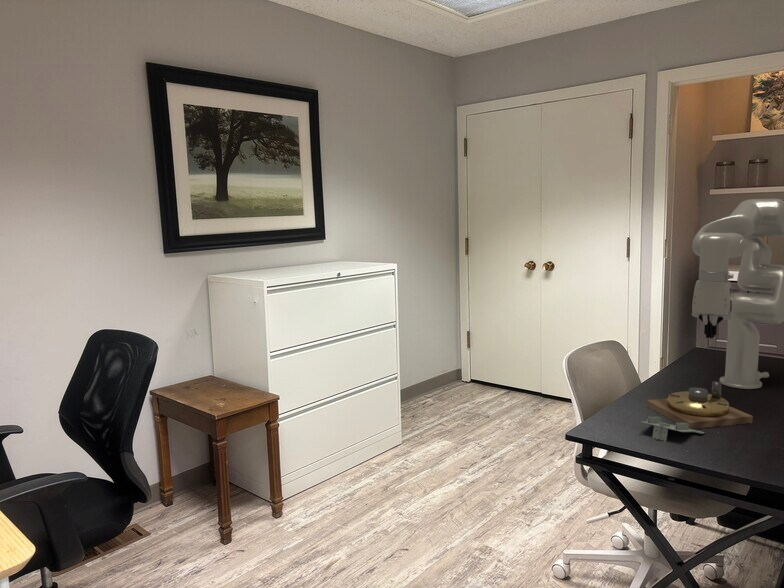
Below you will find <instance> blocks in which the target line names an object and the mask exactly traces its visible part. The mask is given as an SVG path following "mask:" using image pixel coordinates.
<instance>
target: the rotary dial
mask: <svg viewBox="0 0 784 588" xmlns="http://www.w3.org/2000/svg"><path fill="white" fill-rule="evenodd" d="M711 383H712V384H711V393H709V391H708V389H706V388H703V387H690V388H688V390H687V391H677V392H676V391H675V392H672V393H670V394H669V395H668V397H667V398H668V406H669V407H670V408H672V409H674V410H676V411H679V412H682V413H686V414H691V415H697V416H721V415H724V414H726V413H728V409H729V406H730V403H729V401H728V400H727V399H725V398H723V397H722V385H723V384H722V383H721V382H720V381H715V380H714V381H711Z"/></svg>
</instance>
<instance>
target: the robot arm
mask: <svg viewBox="0 0 784 588" xmlns="http://www.w3.org/2000/svg"><path fill="white" fill-rule="evenodd" d="M762 237H763V238H764V237H765V238H768V237H769V238H773V237H774V238H784V200H783V199H780V198H751V199H746V200H744V201H742V202H740V203H739V204H738V205H737V206H736V208H734V210H733V211H732V212H731V213H730V215H729V216H726V217H721V218H719V219H716V220H714V221H711V222H708V223H707V224H705V225H704V226H701V228H700V229H699V230H698V231H697V233H696V234H695V236H694V237H693V240H692V246H691V247H692V251H693V253H694V254H695V255H696V256H698V257H699V268H698V269H699V271H698V272H699V273H698V280H696V282H695V285H694V291H693V296H692V297H693V298H692V301H691V302H692V303H691V304H692V305H691V310H692V312H691V316H692V317H694V318H697V319H699V320H700V321H701V322H702V324H703V326H704V328H703V331H704V335H705V338H706V339H713V338H715V336H717V330H718V324H719V323H721V322H723V321H727V336H726V351H725V354H726V355H725V367H724V369H725V370H724V371H725V372H724V376H720V378H719V382H721V383H722V384H721V385H724V386H726V387H731V388H736V389H743V390H754V389H755V390H756V389H760V388H762V386H763V382H762V381H761V379H766V378H769V377H770V374H769V372H768V371H762V372H760V371H759V367H758V366H759V354H760V353H759V351H760V341H761V339H760V338H761V337H760V336H761V335H760V332H759V330H758V328H757V327H756V325H755V324H754V323H759V324H760V323H761V324H767V325H768V324H769V325H779V324H782V323H783V322H784V264H772V263H771V262H772V261H771V260H772V255H773V252H772V250H771V248H770V247H769V245H768V244H767V243H766V242H765V241H764V239H762ZM739 257H741V261H740V265H739V270H738V275H737V278H736V279H737V280H736V282H737V283H736V284H737V287H738V288H739V289H741V290H742V291H748V292H736V293H735V292H734V293H733V287H732V283H731V281H729V280H730V279H734V273H730V272H729V262H730V261H729V260H730V259H736V258H739ZM752 292H753V293H752ZM754 292H757V293H754ZM763 293H764V294H763ZM765 293H766V294H765ZM769 293H770V294H769ZM710 316H712V321H711V317H710Z"/></svg>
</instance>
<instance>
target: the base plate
mask: <svg viewBox="0 0 784 588" xmlns="http://www.w3.org/2000/svg"><path fill="white" fill-rule="evenodd" d="M645 406H646V408H648V409H651V410H652V411H653V412H655V413H658V414H659V415H662V416H663V415H664V416H663V417H666V418H668V419H669V420H671V421H673V422H675V423H689V427H688V429H693V430H698V428H701V429H706V428H705V427H710V428H716V427H715V426H720V427H727V426H728V425H729V426H736V424H738V425H747V423H748V424H753V421H754V420H753V418H754V416H753V415H751V414H749V413H746V412H744V411H741V410H739V409H737V408H736V407H732V406H730V405H729V409H728V413H726V414H724V415H721V416H697V415H691V414H686V413H682V412H679V411H676V410H674V409H672V408H670V407H669V406H668V397H667V398H657V399H647V400H646V405H645ZM726 425H727V426H726ZM729 426H728V427H729Z"/></svg>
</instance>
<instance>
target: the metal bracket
mask: <svg viewBox="0 0 784 588" xmlns="http://www.w3.org/2000/svg"><path fill="white" fill-rule="evenodd" d="M640 423H641V424H643V423H644V424H646V425H649V426H651V425H652V426H653V431H652V439H654V438H655V439H656V440H658V439H659V441H662V440H663V442H667V440H668V433H669V432H668V431H669V430H672V431H677V432H680V433H697V434H701V435H702V434H703V435H705V434H706V432H704V431H701V430H698V429H688V427H689V423H677V422H675V425H674V424H671V423H666V422H662V416H648V417H647V419H645V421H640ZM704 433H705V434H704Z"/></svg>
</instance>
